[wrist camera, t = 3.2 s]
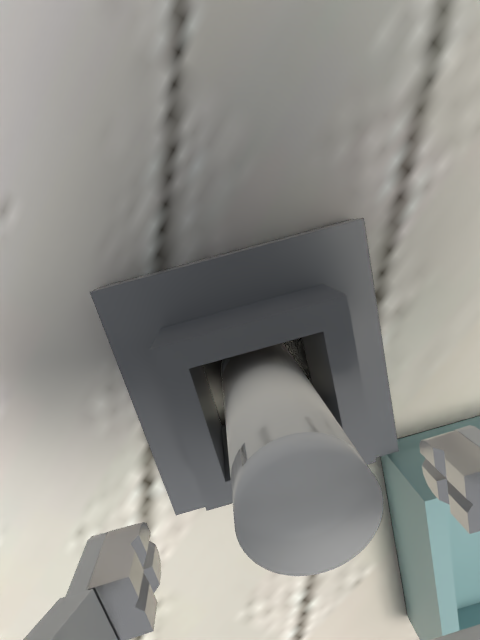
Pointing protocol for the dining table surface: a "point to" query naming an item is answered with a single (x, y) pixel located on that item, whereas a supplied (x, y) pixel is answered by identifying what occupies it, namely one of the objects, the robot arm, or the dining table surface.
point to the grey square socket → (249, 347)
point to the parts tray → (431, 544)
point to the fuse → (293, 469)
